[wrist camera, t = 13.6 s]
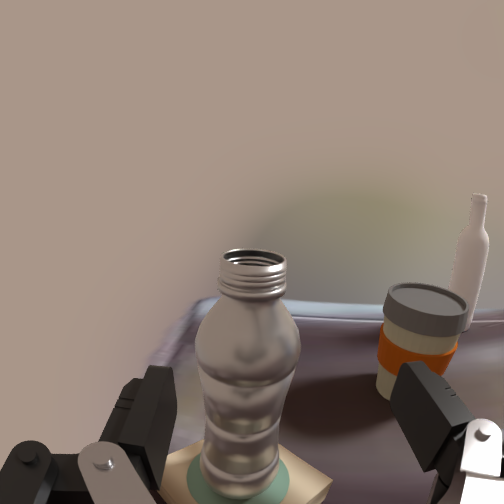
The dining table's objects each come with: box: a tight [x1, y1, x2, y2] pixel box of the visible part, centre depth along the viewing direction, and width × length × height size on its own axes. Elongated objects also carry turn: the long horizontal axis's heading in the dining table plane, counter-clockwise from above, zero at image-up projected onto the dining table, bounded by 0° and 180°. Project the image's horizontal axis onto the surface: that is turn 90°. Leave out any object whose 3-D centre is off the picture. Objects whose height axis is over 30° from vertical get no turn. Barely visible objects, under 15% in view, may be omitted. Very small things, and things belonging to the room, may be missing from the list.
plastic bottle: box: [195, 249, 301, 499], centre depth 20 cm, size 6×7×20 cm
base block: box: [157, 439, 333, 504], centre depth 23 cm, size 12×12×4 cm
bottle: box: [448, 193, 489, 332], centre depth 57 cm, size 8×8×30 cm
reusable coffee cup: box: [376, 282, 469, 401], centre depth 39 cm, size 13×13×15 cm
